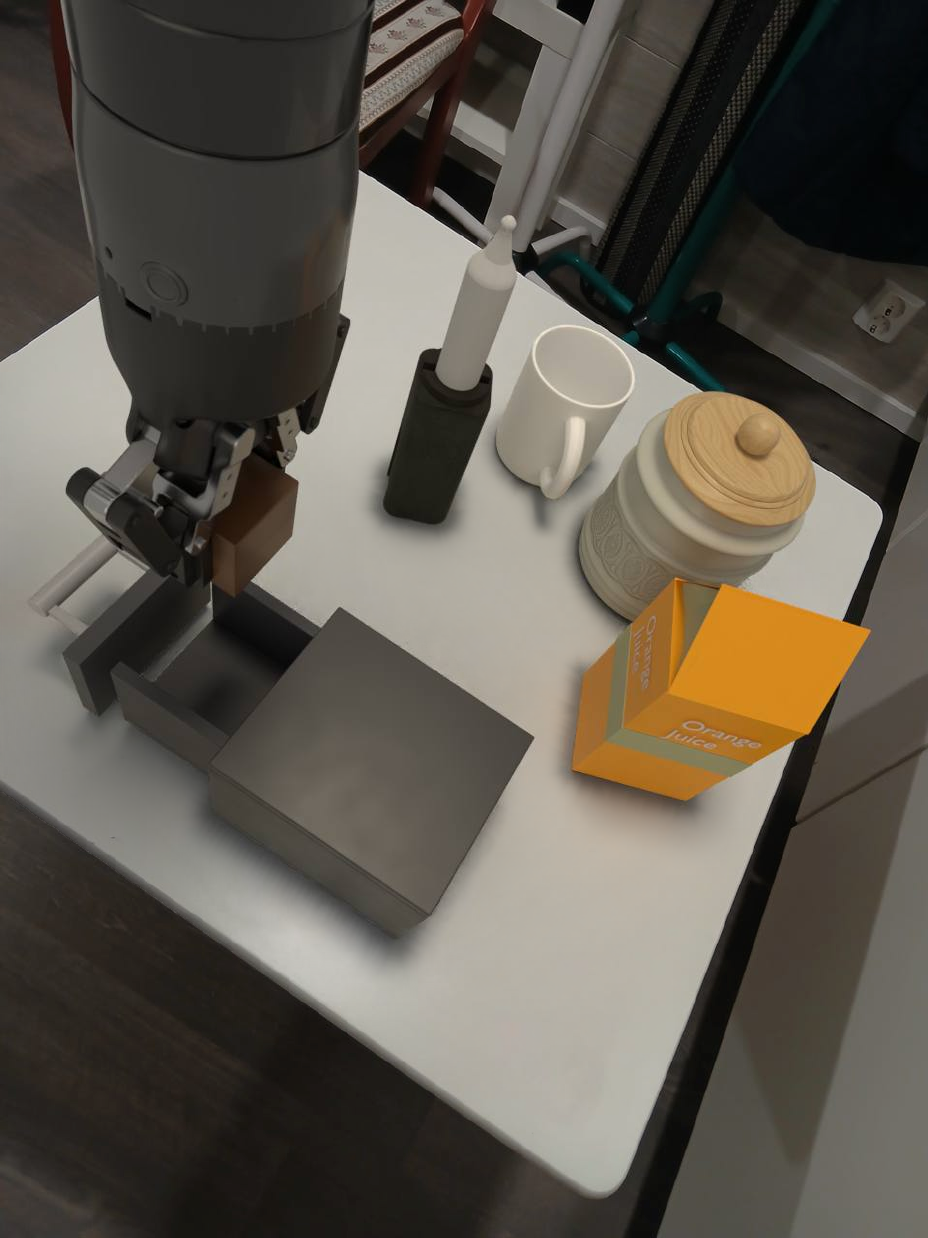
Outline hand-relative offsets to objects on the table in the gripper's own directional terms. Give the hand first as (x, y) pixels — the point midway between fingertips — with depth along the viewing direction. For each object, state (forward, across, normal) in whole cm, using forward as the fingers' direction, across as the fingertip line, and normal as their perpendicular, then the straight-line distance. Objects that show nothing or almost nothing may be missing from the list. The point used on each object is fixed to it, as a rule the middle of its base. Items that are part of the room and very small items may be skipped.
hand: (224, 537), depth 39 cm
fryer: (+17, +2, +12) cm, 21 cm away
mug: (+17, -30, +9) cm, 36 cm away
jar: (+17, -28, +20) cm, 39 cm away
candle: (+17, -21, +2) cm, 28 cm away
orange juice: (+17, -13, +26) cm, 34 cm away
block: (0, 0, 0) cm, 0 cm away
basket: (+16, +1, -1) cm, 16 cm away
